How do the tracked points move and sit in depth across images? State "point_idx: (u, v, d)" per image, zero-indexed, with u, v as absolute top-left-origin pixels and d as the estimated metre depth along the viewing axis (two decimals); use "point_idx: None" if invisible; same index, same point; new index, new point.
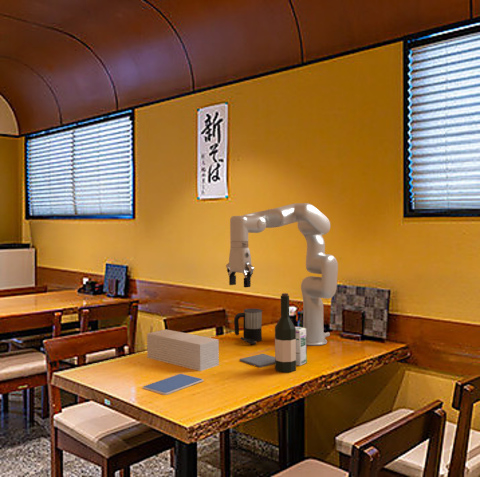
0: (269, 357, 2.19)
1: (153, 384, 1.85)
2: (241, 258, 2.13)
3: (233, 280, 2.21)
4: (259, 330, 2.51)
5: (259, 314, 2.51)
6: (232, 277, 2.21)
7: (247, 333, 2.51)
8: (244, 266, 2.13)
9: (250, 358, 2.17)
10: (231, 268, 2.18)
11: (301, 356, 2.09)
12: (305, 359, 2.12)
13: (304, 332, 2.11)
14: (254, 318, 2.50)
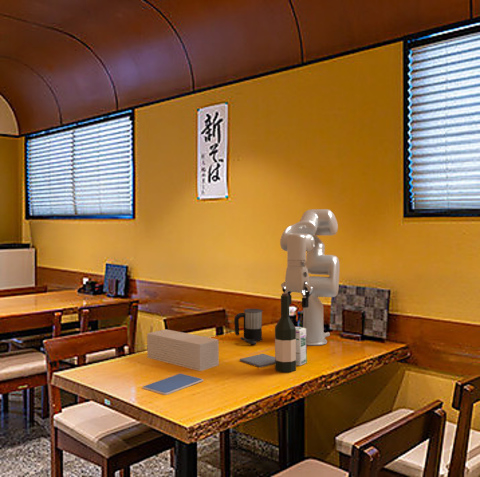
0: (269, 357, 2.19)
1: (153, 384, 1.85)
2: (299, 277, 2.07)
3: (289, 300, 2.15)
4: (259, 330, 2.51)
5: (259, 314, 2.51)
6: None
7: (247, 333, 2.51)
8: (302, 286, 2.07)
9: (250, 358, 2.17)
10: (288, 287, 2.12)
11: (301, 356, 2.09)
12: (305, 359, 2.12)
13: (304, 332, 2.11)
14: (254, 318, 2.49)
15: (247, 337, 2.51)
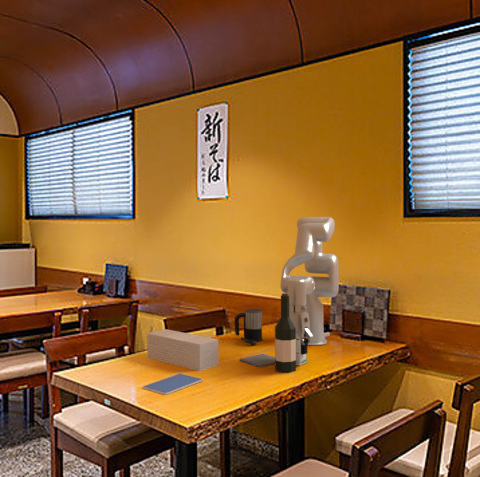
0: (269, 357, 2.19)
1: (153, 384, 1.85)
2: (300, 323, 2.07)
3: None
4: (259, 330, 2.51)
5: (259, 314, 2.50)
6: None
7: (247, 333, 2.50)
8: (303, 331, 2.07)
9: (250, 358, 2.17)
10: None
11: (301, 356, 2.09)
12: (305, 359, 2.12)
13: None
14: (255, 318, 2.49)
15: (247, 337, 2.50)
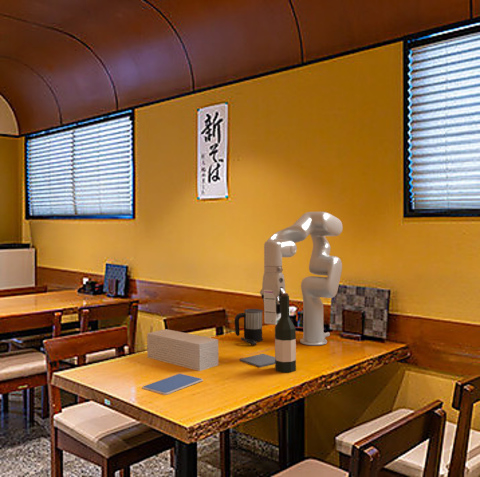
0: (269, 357, 2.19)
1: (153, 384, 1.85)
2: (275, 283, 2.14)
3: None
4: (260, 330, 2.50)
5: (259, 314, 2.50)
6: None
7: (247, 333, 2.50)
8: (278, 291, 2.14)
9: (250, 358, 2.17)
10: None
11: (276, 315, 2.16)
12: None
13: None
14: (255, 318, 2.49)
15: (247, 337, 2.50)
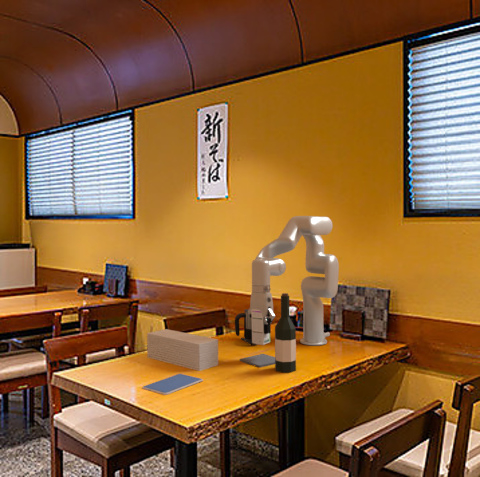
0: (269, 357, 2.19)
1: (153, 384, 1.85)
2: (263, 303, 2.11)
3: None
4: None
5: None
6: None
7: (248, 333, 2.50)
8: (266, 311, 2.10)
9: (250, 358, 2.17)
10: None
11: (264, 336, 2.12)
12: (268, 339, 2.15)
13: None
14: None
15: (247, 337, 2.50)
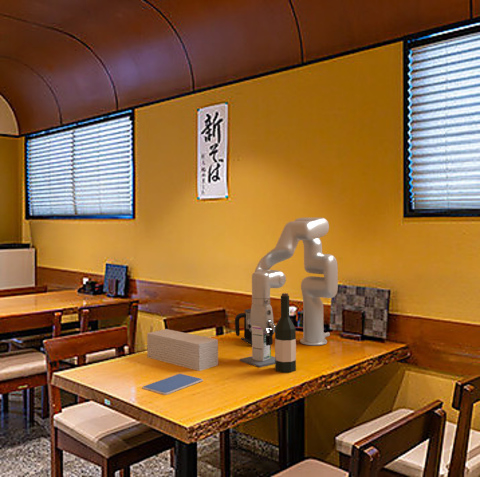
0: None
1: (153, 384, 1.85)
2: (263, 316, 2.11)
3: None
4: None
5: None
6: None
7: (248, 333, 2.50)
8: (266, 324, 2.11)
9: (250, 358, 2.17)
10: (252, 324, 2.16)
11: (264, 352, 2.13)
12: (269, 355, 2.15)
13: None
14: None
15: (248, 337, 2.50)
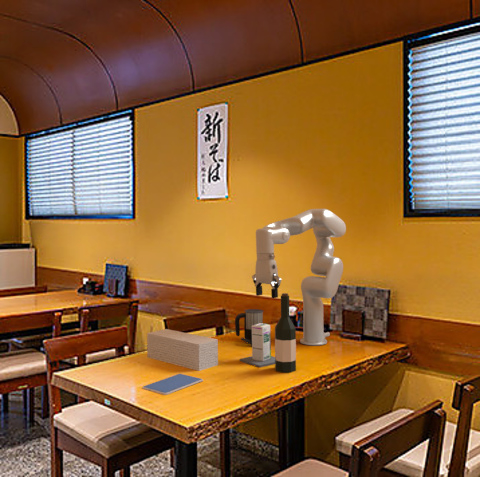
0: None
1: (153, 384, 1.85)
2: (268, 270, 2.19)
3: (260, 291, 2.27)
4: None
5: (260, 315, 2.49)
6: (259, 288, 2.27)
7: (248, 334, 2.49)
8: (271, 278, 2.19)
9: (250, 358, 2.17)
10: (258, 279, 2.24)
11: (264, 352, 2.13)
12: (269, 355, 2.15)
13: (268, 328, 2.15)
14: (255, 318, 2.48)
15: (248, 338, 2.49)
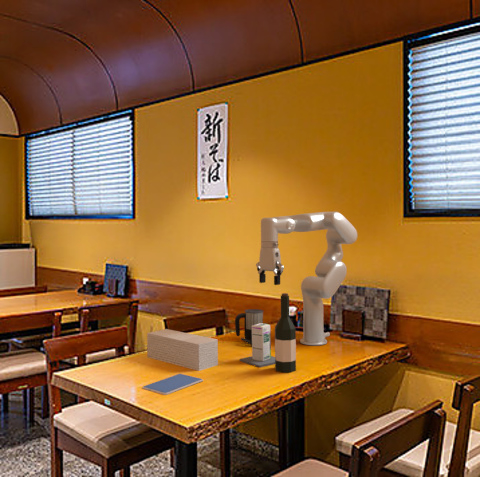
0: None
1: (153, 384, 1.85)
2: (272, 257, 2.26)
3: (263, 278, 2.35)
4: None
5: (260, 315, 2.49)
6: (262, 275, 2.34)
7: (248, 334, 2.49)
8: (274, 265, 2.26)
9: (250, 358, 2.17)
10: (261, 266, 2.32)
11: (264, 352, 2.13)
12: (269, 355, 2.15)
13: (268, 328, 2.15)
14: (255, 318, 2.48)
15: (248, 338, 2.49)
